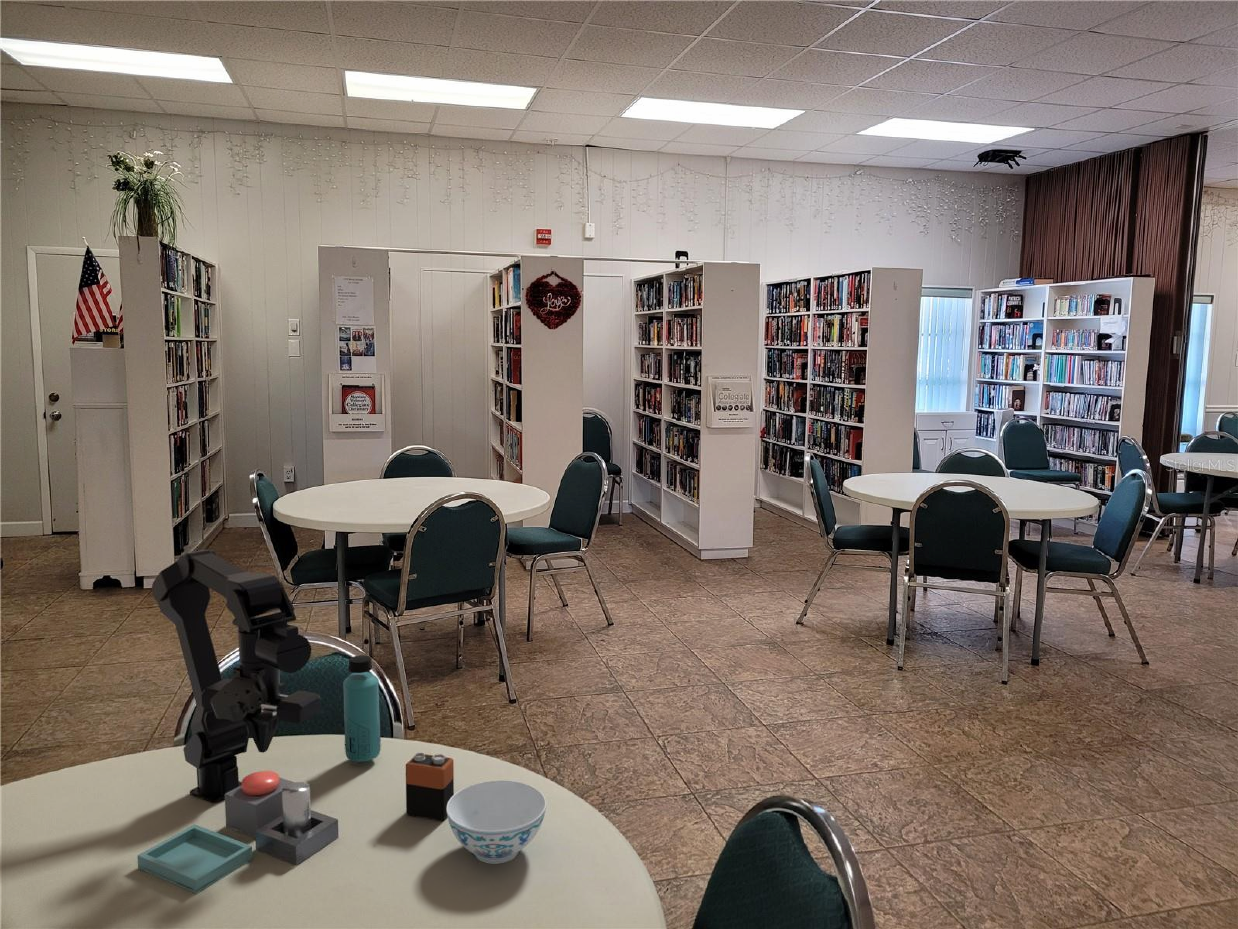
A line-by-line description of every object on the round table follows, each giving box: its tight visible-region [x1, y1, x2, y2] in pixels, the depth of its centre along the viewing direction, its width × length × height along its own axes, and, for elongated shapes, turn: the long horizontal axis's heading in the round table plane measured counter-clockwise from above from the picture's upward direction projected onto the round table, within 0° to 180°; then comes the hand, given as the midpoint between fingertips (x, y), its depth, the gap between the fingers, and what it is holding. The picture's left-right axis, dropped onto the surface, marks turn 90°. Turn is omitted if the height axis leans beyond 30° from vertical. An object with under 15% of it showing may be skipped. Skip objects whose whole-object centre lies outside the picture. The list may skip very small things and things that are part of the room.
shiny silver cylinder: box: [282, 781, 312, 839], centre depth 137 cm, size 4×4×9 cm
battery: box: [405, 752, 455, 822], centre depth 147 cm, size 4×7×10 cm, turn 75°
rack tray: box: [136, 824, 253, 894], centre depth 132 cm, size 13×10×2 cm
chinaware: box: [446, 779, 547, 865], centre depth 136 cm, size 15×15×8 cm
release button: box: [240, 770, 280, 797], centre depth 144 cm, size 6×6×4 cm
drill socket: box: [254, 809, 339, 866], centre depth 138 cm, size 8×8×3 cm
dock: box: [224, 776, 296, 838], centre depth 144 cm, size 7×8×6 cm
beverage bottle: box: [342, 654, 382, 763], centre depth 163 cm, size 6×7×20 cm
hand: (263, 751), depth 142 cm, fingers closed
